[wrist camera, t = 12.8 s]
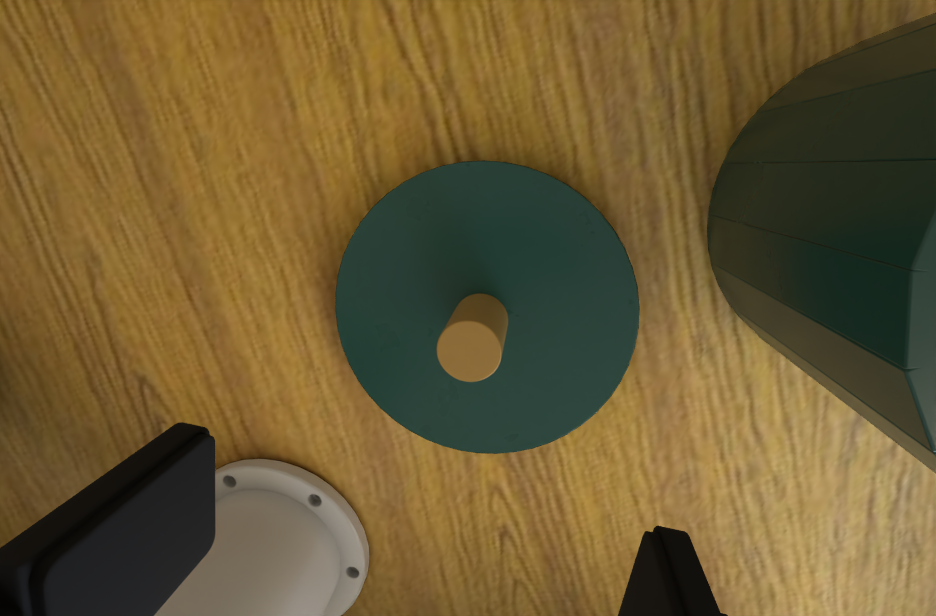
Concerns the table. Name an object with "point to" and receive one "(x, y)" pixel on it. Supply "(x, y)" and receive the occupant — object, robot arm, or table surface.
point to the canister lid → (487, 307)
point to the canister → (843, 229)
